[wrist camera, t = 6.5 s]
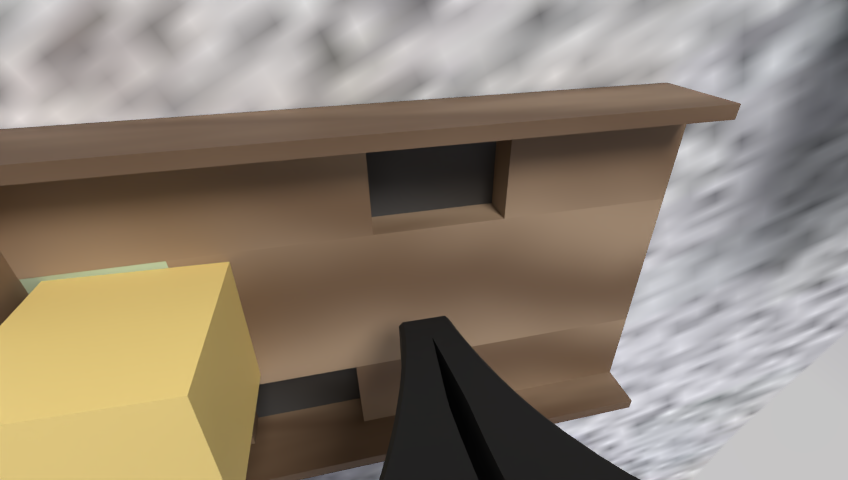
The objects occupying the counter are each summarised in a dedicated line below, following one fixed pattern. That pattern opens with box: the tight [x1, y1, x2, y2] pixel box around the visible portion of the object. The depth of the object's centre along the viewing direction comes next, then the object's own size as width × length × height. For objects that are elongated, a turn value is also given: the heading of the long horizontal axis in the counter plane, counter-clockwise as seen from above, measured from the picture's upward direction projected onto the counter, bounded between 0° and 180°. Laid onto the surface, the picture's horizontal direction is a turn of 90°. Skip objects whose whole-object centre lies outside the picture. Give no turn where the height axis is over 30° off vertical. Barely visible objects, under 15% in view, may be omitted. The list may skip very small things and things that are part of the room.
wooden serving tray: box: [0, 83, 741, 480], centre depth 13 cm, size 12×19×3 cm, turn 91°
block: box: [0, 262, 261, 480], centre depth 10 cm, size 4×4×4 cm
